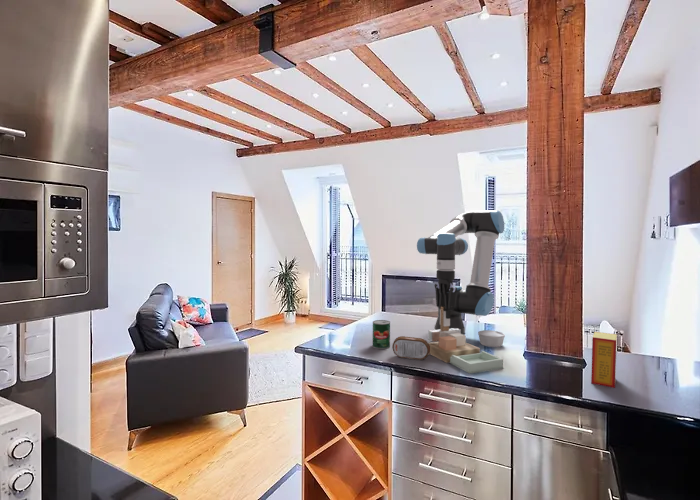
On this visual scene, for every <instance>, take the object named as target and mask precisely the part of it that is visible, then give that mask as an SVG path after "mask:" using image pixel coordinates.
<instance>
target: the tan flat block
mask: <svg viewBox="0 0 700 500" xmlns="http://www.w3.org/2000/svg"><path fill="white" fill-rule="evenodd" d="M428 344H429V346H430V352H429V354H428V355H431V356H433V357H435V358H437V359H438V360H440V361H441V362H442V361H443V362H444V363H446V364H447V363H450V357H452V355H455V356H461V355H468V354H476V353H481V348H480V347H478V346H475V345H473V344H471V343H467V342H466V345H462V346H456V349H453V350H444V349H442V348H440V347H439V341H435V342H432V341H431V342H428Z"/></svg>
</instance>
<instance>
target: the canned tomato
mask: <svg viewBox="0 0 700 500" xmlns="http://www.w3.org/2000/svg"><path fill="white" fill-rule="evenodd" d="M390 347H391V321H389V320H385V319H377V320H373V321H372V348H373V349H379V350H385V349H389V348H390Z"/></svg>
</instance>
